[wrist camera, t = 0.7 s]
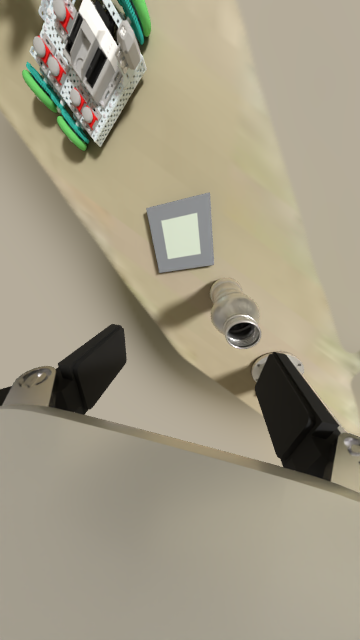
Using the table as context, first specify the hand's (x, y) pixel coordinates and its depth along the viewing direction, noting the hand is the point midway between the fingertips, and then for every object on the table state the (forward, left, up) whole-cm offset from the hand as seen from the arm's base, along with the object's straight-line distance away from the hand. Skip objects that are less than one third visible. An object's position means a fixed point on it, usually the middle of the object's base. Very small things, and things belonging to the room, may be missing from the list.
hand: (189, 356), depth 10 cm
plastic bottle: (-3, -5, -27) cm, 28 cm away
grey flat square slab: (+9, +3, -27) cm, 29 cm away
